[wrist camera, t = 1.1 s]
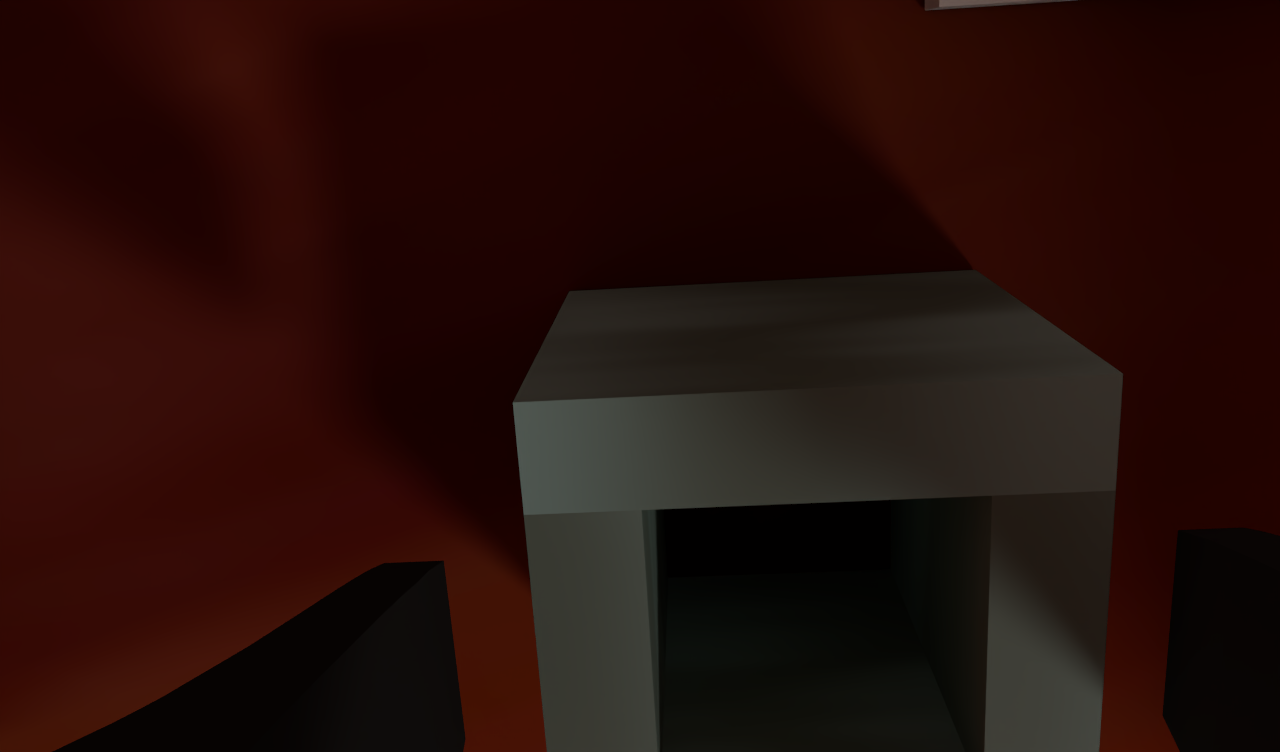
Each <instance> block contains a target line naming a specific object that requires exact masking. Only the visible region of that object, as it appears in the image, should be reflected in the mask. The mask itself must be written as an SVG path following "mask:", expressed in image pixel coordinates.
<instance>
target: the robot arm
mask: <svg viewBox="0 0 1280 752" xmlns="http://www.w3.org/2000/svg"><path fill="white" fill-rule="evenodd" d="M1163 717H1164V719H1165V721H1166V723H1167V726H1168V728H1169V730H1170V732H1171V734H1172V736H1173V738H1174V740H1175V742H1176V744H1177V746H1178V748H1179V750H1180V752H1280V536H1278V535H1274V534H1270V533H1266V532H1262V531H1257V530H1252V529H1248V528H1223V529H1199V530H1178V537H1177V549H1176V561H1175V573H1174V585H1173V597H1172V609H1171V621H1170V633H1169V645H1168V657H1167V669H1166V681H1165V693H1164V705H1163ZM464 743H465V731H464V723H463V715H462V707H461V699H460V691H459V683H458V674H457V666H456V658H455V650H454V642H453V634H452V625H451V617H450V609H449V601H448V593H447V585H446V577H445V568H444V561H427V562H403V563H384V564H381V565H379V566H377V567H375V568H372V569H370V570H369V571H367V572H365V573H363V574H361V575H360V576H358V577H356V578H355V579H353V580H351V581H350V582H348V583H346V584H345V585H343V586H342V587H340V588H338V589H337V590H335V591H334V592H332V593H331V594H329V595H327V596H326V597H324V598H323V599H321V600H320V601H318V602H317V603H315V604H314V605H312V606H311V607H309V608H307V609H306V610H304V611H303V612H301V613H300V614H298V615H297V616H295V617H294V618H292V619H290V620H289V621H287V622H286V623H284V624H283V625H281V626H280V627H278V628H276V629H275V630H273V631H272V632H270V633H269V634H267V635H266V636H264V637H263V638H261V639H259V640H258V641H256V642H255V643H253V644H252V645H250V646H248V647H247V648H245V649H243V650H242V651H240V652H238V653H237V654H235V655H233V656H231V657H230V658H228V659H226V660H225V661H223V662H221V663H220V664H218V665H216V666H214V667H213V668H211V669H209V670H208V671H206V672H204V673H203V674H201V675H199V676H197V677H196V678H194V679H192V680H191V681H189V682H187V683H186V684H184V685H182V686H180V687H179V688H177V689H175V690H174V691H172V692H170V693H169V694H167V695H165V696H163V697H161V698H160V699H158V700H156V701H154V702H152V703H150V704H149V705H147V706H145V707H143V708H141V709H139V710H137V711H135V712H133V713H131V714H129V715H127V716H125V717H124V718H122V719H120V720H118V721H116V722H114V723H112V724H110V725H108V726H105V727H103V728H101V729H99V730H97V731H95V732H93V733H91V734H89V735H87V736H84V737H82V738H80V739H78V740H76V741H74V742H72V743H70V744H68V745H66V746H63V747H61V748H59V749H57V750H55V751H53V752H463V749H464Z"/></svg>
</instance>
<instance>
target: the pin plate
mask: <svg viewBox="0 0 1280 752" xmlns="http://www.w3.org/2000/svg"><path fill="white" fill-rule="evenodd" d="M1061 1H1076V0H925V10H939V9H954V8H970V7H985V6H1000V5H1015V4H1030V3H1046V2H1061Z"/></svg>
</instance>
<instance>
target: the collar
mask: <svg viewBox="0 0 1280 752" xmlns="http://www.w3.org/2000/svg"><path fill="white" fill-rule="evenodd" d="M1122 384H1123V373H1121V372H1120V371H1119V370H1117V369H1116V368H1114V367H1113V366H1111V365H1110V364H1109V363H1107V362H1106V361H1104V360H1103V359H1101V358H1100V357H1099V356H1097V355H1096V354H1094V353H1093V352H1091V351H1090V350H1089V349H1087V348H1086V347H1084V346H1083V345H1082V344H1080V343H1079V342H1077V341H1076V340H1074V339H1073V338H1072V337H1070V336H1069V335H1067V334H1066V333H1064V332H1063V331H1062V330H1060V329H1059V328H1057V327H1056V326H1055V325H1053V324H1052V323H1050V322H1049V321H1047V320H1046V319H1045V318H1043V317H1042V316H1040V315H1039V314H1037V313H1036V312H1035V311H1033V310H1032V309H1030V308H1029V307H1028V306H1026V305H1025V304H1023V303H1022V302H1020V301H1019V300H1018V299H1016V298H1015V297H1013V296H1012V295H1010V294H1009V293H1008V292H1006V291H1005V290H1003V289H1002V288H1001V287H999V286H998V285H996V284H995V283H993V282H992V281H991V280H989V279H988V278H986V277H985V276H983V275H982V274H981V273H979V272H978V271H976V270H962V271H943V272H924V273H905V274H886V275H867V276H848V277H829V278H810V279H791V280H772V281H753V282H734V283H715V284H696V285H677V286H658V287H639V288H620V289H601V290H582V291H569V293H568V295H567V297H566V299H565V301H564V303H563V305H562V307H561V309H560V310H559V312H558V314H557V316H556V318H555V320H554V322H553V324H552V326H551V328H550V330H549V332H548V334H547V336H546V338H545V340H544V342H543V344H542V346H541V348H540V350H539V352H538V354H537V356H536V358H535V360H534V362H533V364H532V366H531V368H530V370H529V371H528V373H527V375H526V377H525V379H524V381H523V383H522V385H521V387H520V389H519V391H518V393H517V395H516V397H515V399H514V401H513V410H514V420H515V431H516V441H517V451H518V461H519V471H520V481H521V492H522V502H523V512H524V522H525V532H526V543H527V553H528V563H529V573H530V583H531V593H532V604H533V614H534V624H535V634H536V644H537V655H538V665H539V675H540V685H541V695H542V706H543V716H544V726H545V736H546V746H547V752H1099V743H1100V727H1101V711H1102V696H1103V680H1104V665H1105V649H1106V633H1107V618H1108V602H1109V586H1110V571H1111V555H1112V540H1113V524H1114V508H1115V493H1116V477H1117V462H1118V446H1119V430H1120V415H1121V399H1122ZM874 500H891V569H884V570H858V571H831V572H805V573H779V574H752V575H726V576H699V577H673V578H668V569H667V552H666V536H665V519H664V509H681V508H705V507H729V506H753V505H777V504H802V503H826V502H850V501H874Z"/></svg>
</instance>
